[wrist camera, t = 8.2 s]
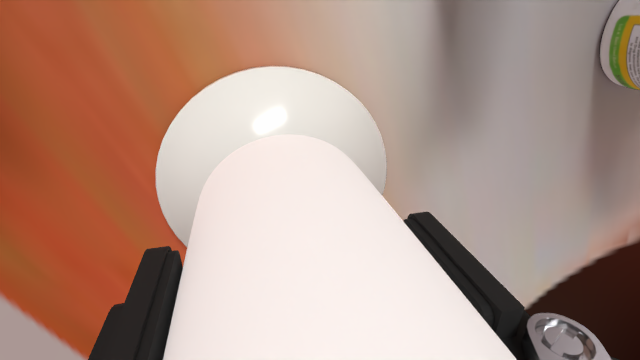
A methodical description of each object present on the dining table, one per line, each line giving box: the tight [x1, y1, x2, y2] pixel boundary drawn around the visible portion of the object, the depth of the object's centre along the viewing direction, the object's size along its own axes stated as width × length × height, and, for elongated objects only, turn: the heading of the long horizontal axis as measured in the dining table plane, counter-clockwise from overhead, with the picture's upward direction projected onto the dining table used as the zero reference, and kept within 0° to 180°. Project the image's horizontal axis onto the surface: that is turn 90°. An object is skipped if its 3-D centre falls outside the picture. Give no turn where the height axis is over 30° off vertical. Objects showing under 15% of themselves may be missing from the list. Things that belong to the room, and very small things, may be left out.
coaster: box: [156, 66, 387, 247], centre depth 15 cm, size 10×10×1 cm
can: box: [163, 134, 517, 360], centre depth 8 cm, size 6×6×12 cm
